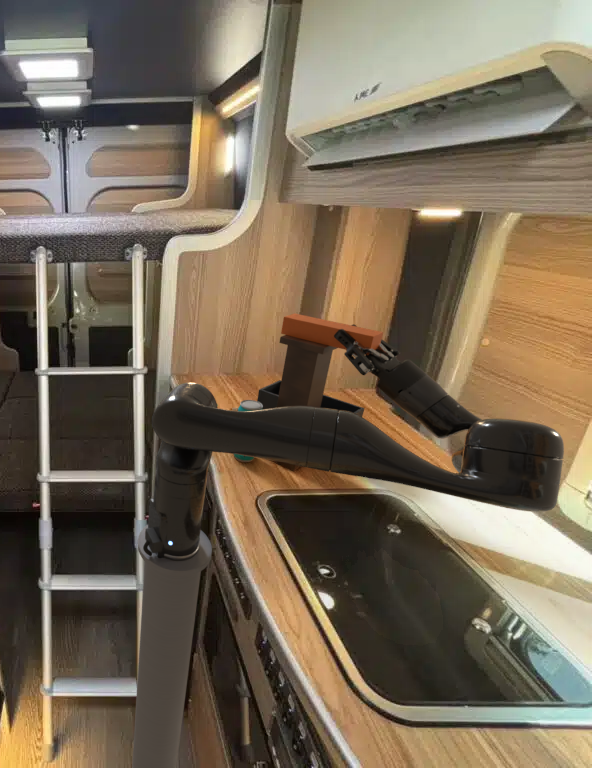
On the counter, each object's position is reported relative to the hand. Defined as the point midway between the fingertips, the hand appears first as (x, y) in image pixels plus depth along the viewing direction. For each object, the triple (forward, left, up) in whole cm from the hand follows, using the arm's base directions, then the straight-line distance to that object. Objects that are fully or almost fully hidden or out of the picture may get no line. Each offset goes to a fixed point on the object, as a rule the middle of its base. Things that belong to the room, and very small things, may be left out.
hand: (343, 330), depth 98 cm
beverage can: (-13, +9, -36) cm, 39 cm away
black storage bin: (+7, +13, -35) cm, 38 cm away
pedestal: (-3, +6, -35) cm, 36 cm away
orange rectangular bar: (-1, +3, -3) cm, 4 cm away
